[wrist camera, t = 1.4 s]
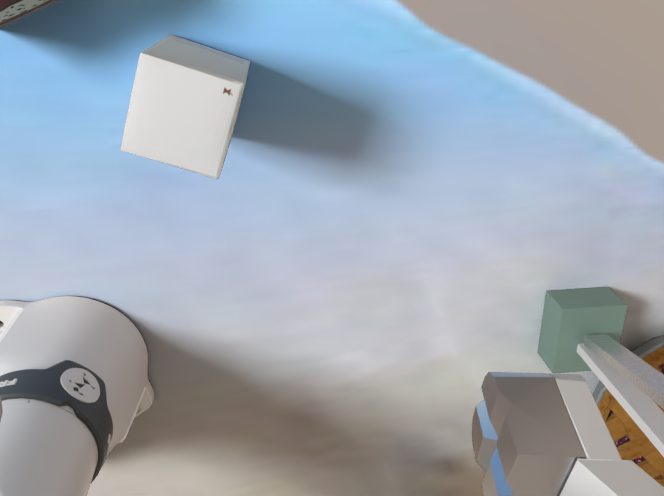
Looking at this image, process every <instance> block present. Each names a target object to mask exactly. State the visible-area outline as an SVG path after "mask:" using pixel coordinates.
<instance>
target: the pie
mask: <svg viewBox="0 0 664 496" xmlns="http://www.w3.org/2000/svg"><path fill="white" fill-rule="evenodd" d="M631 352H632V353H634V354H635V355H636V356H638V357H639V358H641V359H642V360H643V361H645V362H646V363H648V364H649V365H650V366H652V367H653V368H655V369H656V370H657V371H659V372H660V373H662V374H663V375H664V335H663V336H659V337H656V338H653V339H651V340H649V341H648V342H646V343H644V344H643V345H641V346H639V347H638V348H636V349H634V350H632V351H631ZM593 398H594V400H595V402H596V404H597V406H598V408H599V411H600V413H601V415H602V417H603V419H604V421H605V424H606V426H607V428H608V430H609V432H610V434H611V437H612V439H613V441H614V443H615V445H616V447H617V450H618V452H619V454H620V456H621V458H622V460H632V461H633V462H634V463H635V464H636V465H638V466H639V467H640V468H641V469H642V470H644V471H645V472H646V473H647V474H648V475H650V476H651V477H652V478H653V479H654V480H656V481H657V482H658V483H659V484H660V485H662V486H664V457H663V456H662V455H661V453H660V452H659V451H658V450H657V448H656V447H655V446H654V445H653V444H652V442H651V441H650V440H649V439H648V438H647V436H646V435H645V434H644V433H643V431H642V430H641V429H640V428H639V427H638V425H637V424H636V423H635V422H634V421H633V419H632V418H631V417H630V416H629V415H628V413H627V412H626V411H625V410H624V408H623V407H622V406H621V405H620V404H619V402H618V401H617V400H616V399H615V398H614V396H613V395H612V394H611V393H610V392H609V390H608V389H607V388H606V387H605V385H604V384H603V383H602V382H601V381H599V383H598V385H597V387H596V389H595V391H594V393H593ZM655 403H656V402H655ZM656 405H657V406H658V407H659V408H660V409H661V410H662V411H663V412H664V409H663V408H662V407H661V406H659V405H658V404H657V403H656Z"/></svg>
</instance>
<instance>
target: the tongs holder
mask: <svg viewBox="0 0 664 496" xmlns="http://www.w3.org/2000/svg"><path fill="white" fill-rule="evenodd" d="M627 307H628V304H627V303H626V302H624V301H623V300H622V299H621V298H620V297H619V296H618V295H617V294H616V293H615V292H613V291H612V290H611V289H610V288H609V287H596V288H581V289H566V290H551V291H546V298H545V305H544V312H543V319H542V326H541V333H540V340H539V347H538V354H539V355H540V357H541V358H542V359H543V361H544V362H545V364H546V365H547V366H548V368H549V369H550V370H551V372H552V373H566V372H578V371H591V370H592V371H593V372H594V373H595V375H596V376H597V377H598V378H599V379H600V381H601V382H602V383H603V384H604V385H605V387H606V388H607V389H608V390H609V392H610V393H611V394H612V395H613V396H614V398H615V399H616V400H617V401H618V402H619V404H620V405H621V406H622V407H623V408H624V410H625V411H626V412H627V413H628V415H629V416H630V417H631V418H632V419H633V421H634V422H635V423H636V424H637V425H638V427H639V428H640V429H641V430H642V431H643V433H644V434H645V435H646V436H647V438H648V439H649V440H650V441H651V442H652V444H653V445H654V446H655V447H656V448H657V450H658V451H659V452H660V453H661V455H662V456H663V457H664V412H663V411H662V410H661V409H660V408H659V407H658V406H657V405H656V403H655V402H654V401H653V400H652V399H651V398H649V397H648V396H647V395H646V394H645V393H643V392H642V391H641V390H640V389H638V388H637V387H636V386H635V385H633V384H632V383H631V382H630V381H628V380H627V379H626V378H625V377H623V376H622V375H621V374H620V373H618V372H617V371H616V370H615V369H613V368H612V367H611V366H610V365H608V364H607V363H606V362H605V361H603V360H602V359H601V358H600V357H598V356H597V355H596V354H595V353H593V352H592V351H591V350H590V349H589V348H587V347H586V346H585V345H584V336H588V335H601V334H607V335H609V336H610V337H611V338H613V339H614V340H616V341H617V342H618V343H620V341H621V336H622V331H623V326H624V321H625V317H626V312H627Z"/></svg>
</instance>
